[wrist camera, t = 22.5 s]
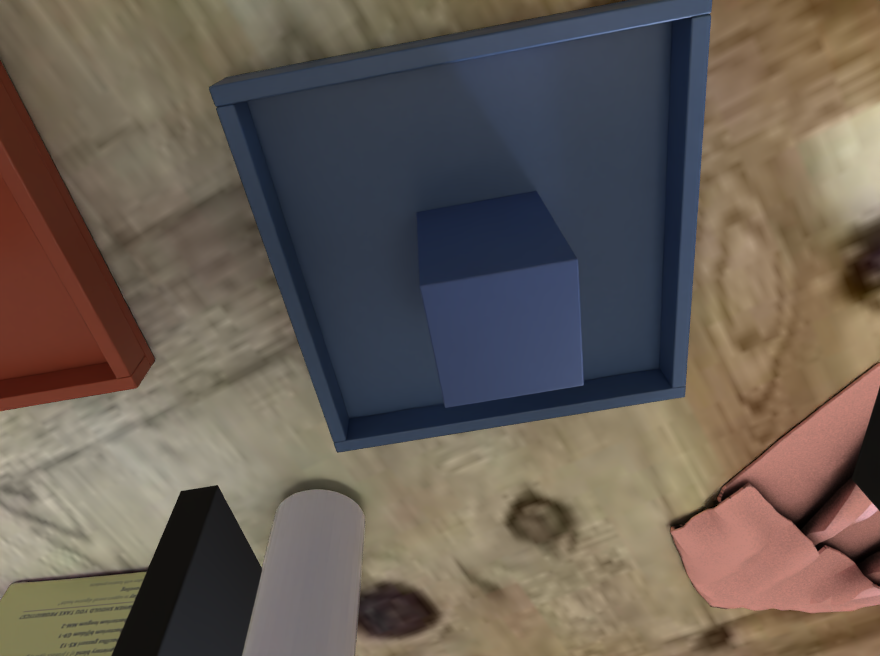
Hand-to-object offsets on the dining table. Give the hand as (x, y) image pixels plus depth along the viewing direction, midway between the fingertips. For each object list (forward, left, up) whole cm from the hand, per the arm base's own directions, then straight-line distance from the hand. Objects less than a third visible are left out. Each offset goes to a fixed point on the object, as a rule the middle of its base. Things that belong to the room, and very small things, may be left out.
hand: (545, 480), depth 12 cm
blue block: (0, 0, -12) cm, 12 cm away
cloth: (+20, +20, -13) cm, 31 cm away
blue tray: (0, 0, -13) cm, 13 cm away
